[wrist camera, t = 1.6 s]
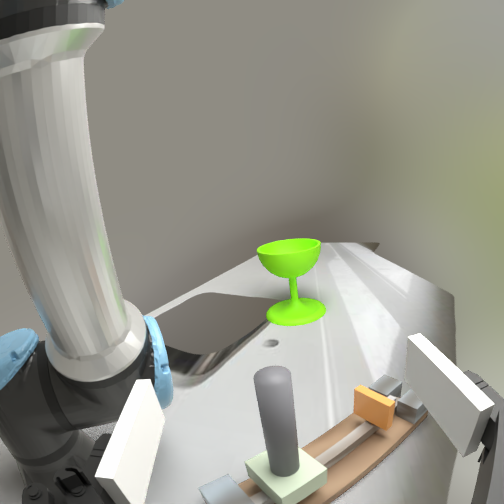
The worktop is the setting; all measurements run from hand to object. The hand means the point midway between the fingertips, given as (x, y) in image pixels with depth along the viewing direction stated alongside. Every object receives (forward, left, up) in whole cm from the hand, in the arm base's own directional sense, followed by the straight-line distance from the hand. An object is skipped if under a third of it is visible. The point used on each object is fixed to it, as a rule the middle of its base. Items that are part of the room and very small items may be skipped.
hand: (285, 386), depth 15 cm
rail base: (-9, +12, -26) cm, 30 cm away
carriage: (-9, +5, -22) cm, 25 cm away
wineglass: (-52, +41, -26) cm, 71 cm away
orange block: (-9, +21, -22) cm, 32 cm away
